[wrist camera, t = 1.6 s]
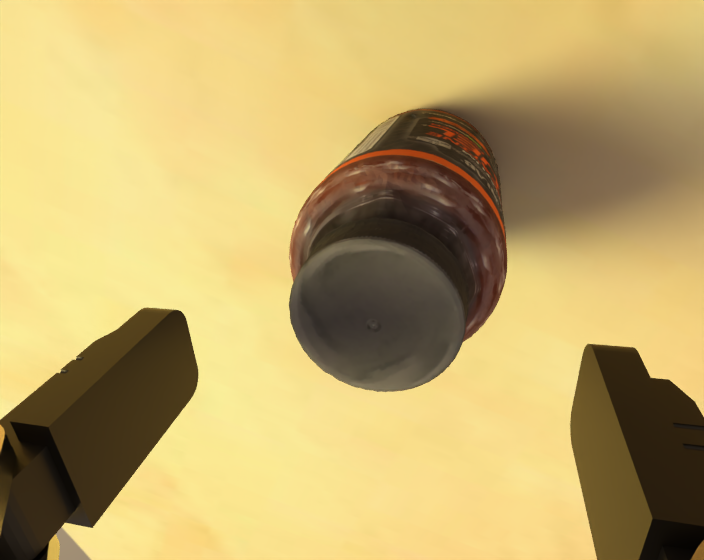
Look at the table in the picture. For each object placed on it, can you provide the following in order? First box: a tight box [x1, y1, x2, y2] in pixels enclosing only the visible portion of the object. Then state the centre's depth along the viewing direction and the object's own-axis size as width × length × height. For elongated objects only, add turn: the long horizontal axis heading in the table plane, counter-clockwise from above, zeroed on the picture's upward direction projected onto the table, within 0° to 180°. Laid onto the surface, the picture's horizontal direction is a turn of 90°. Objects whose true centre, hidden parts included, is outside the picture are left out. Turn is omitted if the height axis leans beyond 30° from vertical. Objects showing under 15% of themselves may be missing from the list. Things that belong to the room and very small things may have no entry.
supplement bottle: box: [289, 109, 507, 392], centre depth 16 cm, size 6×6×11 cm
